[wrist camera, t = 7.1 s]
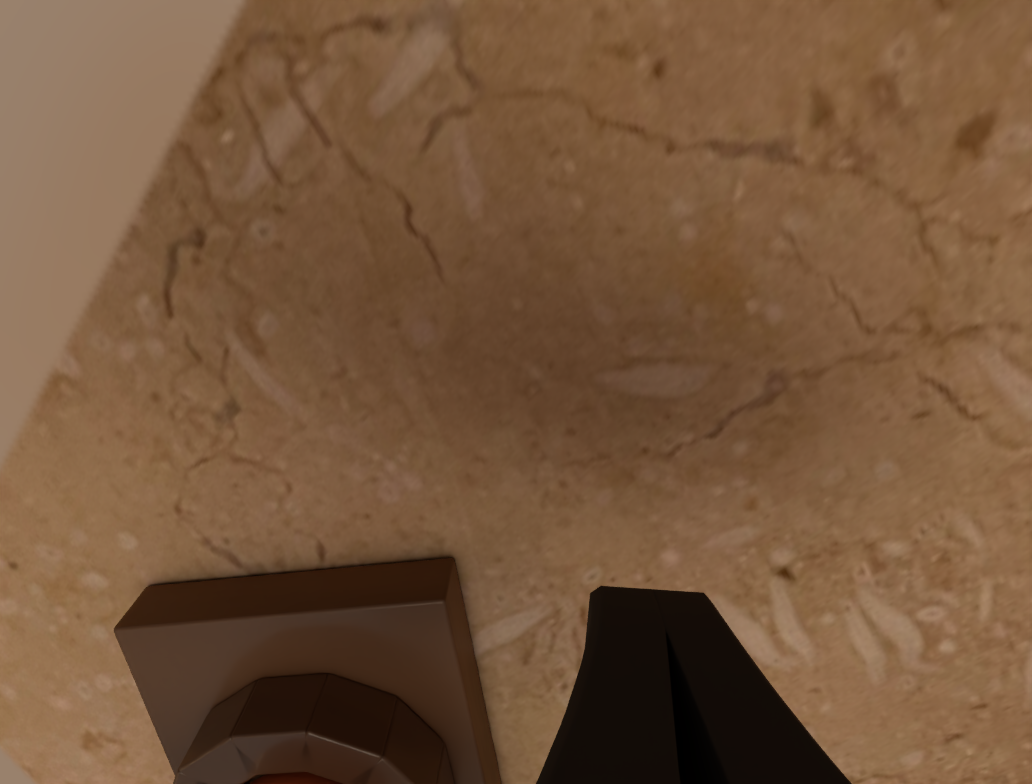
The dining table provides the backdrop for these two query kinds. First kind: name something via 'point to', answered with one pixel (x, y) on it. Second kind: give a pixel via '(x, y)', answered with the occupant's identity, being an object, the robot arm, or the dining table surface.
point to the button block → (314, 676)
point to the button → (293, 779)
